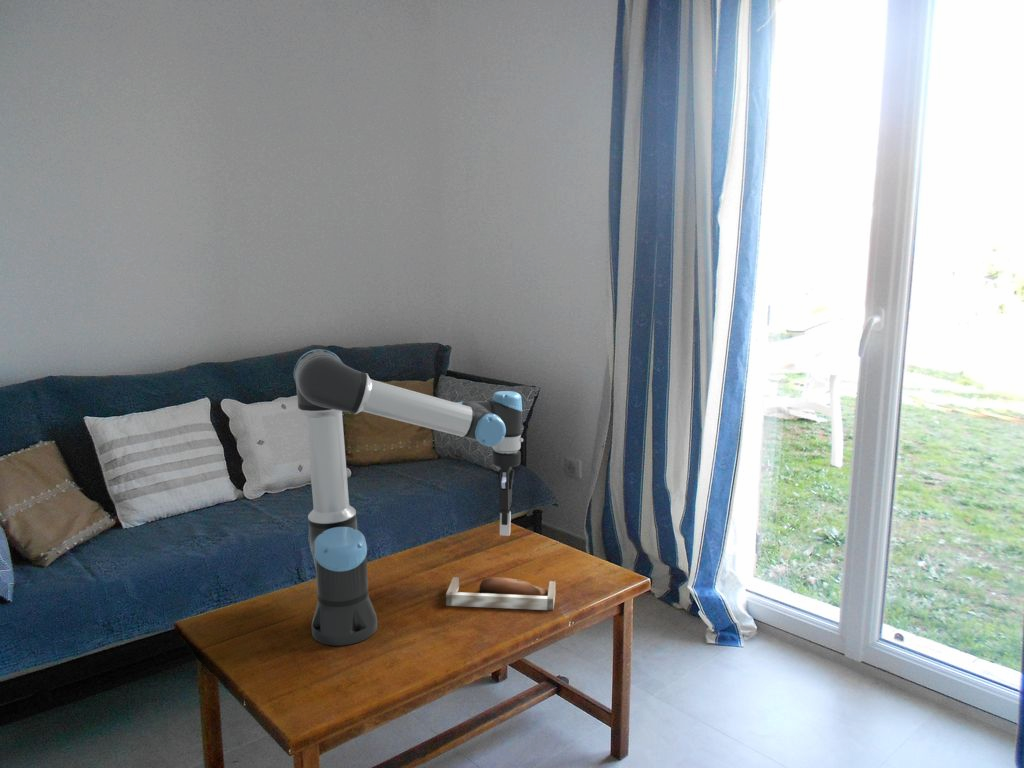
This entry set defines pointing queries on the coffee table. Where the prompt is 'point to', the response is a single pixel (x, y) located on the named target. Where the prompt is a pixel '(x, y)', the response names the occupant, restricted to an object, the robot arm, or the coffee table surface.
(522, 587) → the sunglasses case
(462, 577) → the coffee table surface
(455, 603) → the bracket
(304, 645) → the coffee table surface
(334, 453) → the robot arm
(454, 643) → the coffee table surface
